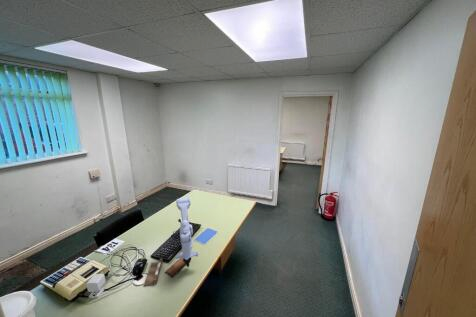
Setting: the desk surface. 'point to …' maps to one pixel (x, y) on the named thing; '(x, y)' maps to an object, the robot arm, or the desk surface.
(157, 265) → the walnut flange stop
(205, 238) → the tablet computer
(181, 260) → the sunglasses case
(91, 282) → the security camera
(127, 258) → the desk surface
